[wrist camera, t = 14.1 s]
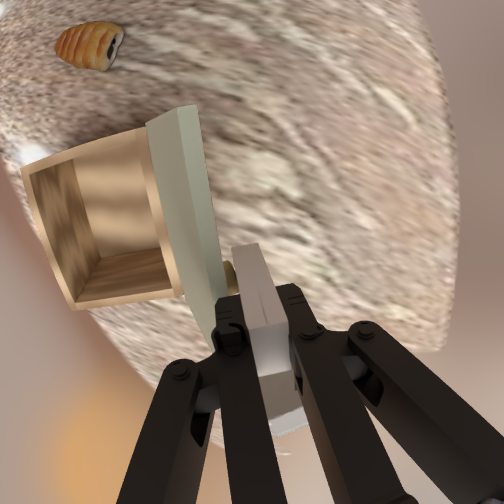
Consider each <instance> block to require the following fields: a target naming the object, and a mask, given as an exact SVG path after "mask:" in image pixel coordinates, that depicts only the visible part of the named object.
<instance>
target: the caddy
mask: <svg viewBox="0 0 504 504" xmlns="http://www.w3.org/2000/svg"><path fill="white" fill-rule="evenodd" d="M20 170H21V175H22V179H23V183H24V187H25V190H26V194H27V198H28V201H29V205H30V208H31V211H32V215H33V218H34V221H35V224H36V227H37V230H38V233H39V236H40V238H41V241H42V244H43V247H44V249H45V252H46V254H47V257H48V259H49V262H50V264H51V267H52V269H53V272H54V274H55V276H56V279H57V281H58V283H59V285H60V287H61V290H62V292H63V294H64V296H65V298H66V300H67V303H68V305H69V307H70V309H71V311H76V310H84V309H91V308H99V307H106V306H114V305H121V304H128V303H135V302H141V301H148V300H155V299H161V298H168V297H174V296H180V295H184V292H183V288H182V285H181V281H180V278H179V274H178V270H177V267H176V263H175V259H174V255H173V252H172V248H171V244H170V240H169V236H168V232H167V228H166V223H165V219H164V215H163V211H162V206H161V202H160V197H159V193H158V188H157V183H156V178H155V173H154V168H153V163H152V158H151V153H150V148H149V142H148V136H147V130H146V126H145V127H141V128H137V129H133V130H129V131H125V132H122V133H118V134H115V135H111V136H108V137H104V138H101V139H98V140H94V141H91V142H88V143H85V144H82V145H79V146H76V147H73V148H70V149H67V150H65V151H62V152H59V153H56V154H54V155H51V156H48V157H46V158H43V159H41V160H38V161H36V162H33V163H31V164H29V165H26V166H24V167H22V168H20Z"/></svg>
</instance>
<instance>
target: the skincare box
mask: <svg viewBox="0 0 504 504" xmlns="http://www.w3.org/2000/svg"><path fill="white" fill-rule="evenodd" d="M258 378H259V382H260V387H261V391H262V396H263V400H264V405H265V409H266V414H267V418H268V423H269V427H270V431H271V432H272V433H273V434H274V435H275V436H276V437H277V438H278V437H280V436H283V435H285V434H288V433H291V432H293V431H296V430H298V429H300V428H303V427H306V426H308V425H309V423H308V420H307V417H306V414H305V411H304V408H303V405H302V402H301V399H300V396H299V393H298V390H296V391H295V384H294V371H293V368H292V365H291V370H288V371H284V372H279V373H275V374H270V375H265V376H260V377H258Z"/></svg>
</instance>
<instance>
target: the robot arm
mask: <svg viewBox="0 0 504 504" xmlns="http://www.w3.org/2000/svg"><path fill="white" fill-rule="evenodd" d="M231 249H232V255H233V260H234V266H235V271H236V276H237V282H238V287H239V293H240V294H238V295H232V296H227V297H221V298H218V300H217V302H216V304H215V319H216V327H215V328H214V329H213V330H212V333H211V339H212V342H213V345H214V349H215V351H214V353H213V354H212V355H211V356H210V357H208V358H206V359H204V360H202V361H200V362H197V363H195V362H193V361H192V360H189V359H178V360H175V361H173V362H171V363H170V364H169V365H167V366H166V368H165V369H164V371H163V374H162V376H161V379H160V381H159V384H158V387H157V389H156V392H155V394H154V397H153V400H152V403H151V405H150V408H149V411H148V413H147V416H146V419H145V421H144V424H143V427H142V429H141V432H140V435H139V438H138V441H137V443H136V446H135V449H134V452H133V455H132V458H131V460H130V464H129V466H128V469H127V472H126V475H125V478H124V481H123V484H122V487H121V490H120V493H119V496H118V499H117V502H116V504H196V500H197V495H198V490H199V486H200V481H201V476H202V471H203V466H204V461H205V457H206V452H207V447H208V443H209V438H210V433H211V428H212V424H213V419H214V414H215V410H217V409H219V408H221V418H222V427H223V436H224V445H225V454H226V462H227V470H228V477H229V485H230V492H231V500H232V504H288V503H287V499H286V495H285V491H284V487H283V483H282V478H281V474H280V470H279V466H278V462H277V457H276V453H275V449H274V444H273V440H272V436H271V431H270V427H269V423H268V418H267V414H266V409H265V405H264V400H263V396H262V391H261V387H260V382H259V378H258V377H260V376H265V375H270V374H275V373H279V372H284V371H288V370H291V365H292V368H293V371H294V384H295V391H296V390H298V393H299V396H300V399H301V402H302V405H303V408H304V411H305V414H306V417H307V420H308V423H309V426H310V430H311V433H312V436H313V439H314V442H315V445H316V448H317V451H318V454H319V457H320V460H321V463H322V466H323V469H324V472H325V475H326V479H327V481H328V485H329V487H330V491H331V494H332V497H333V500H334V503H335V504H419V503H418V501H417V500H416V499H415V498H414V497H413V496H411V495H409V494H407V493H406V492H405V491H404V489H403V487H402V485H401V483H400V480H399V478H398V476H397V474H396V471H395V469H394V467H393V465H392V463H391V461H390V458H389V456H388V454H387V452H386V450H385V448H384V445H383V443H382V441H381V439H380V437H379V435H378V433H377V430H376V429H375V426H374V424H373V422H372V420H371V418H370V416H369V414H368V412H367V410H366V407H367V408H368V410H369V411H370V412H371V413H372V414H373V415H374V416H375V418H376V419H377V420H378V421H379V422H380V423H381V424H382V425H383V427H384V428H385V429H386V430H387V431H388V432H389V433H390V434H391V435H392V437H393V438H394V439H395V440H396V441H397V442H398V444H400V446H401V447H402V448H403V449H404V450H405V451H406V453H407V454H408V455H409V456H410V457H411V458H412V459H413V460H414V461H415V463H416V464H417V465H418V466H419V467H420V468H421V469H422V470H423V471H424V472H425V474H426V475H427V476H428V477H429V478H430V479H431V480H432V481H433V482H434V484H435V485H436V486H437V487H438V488H439V489H440V490H441V491H442V492H443V493H444V494H445V496H446V497H447V498H448V499H449V500H450V501H451V502H452V503H453V504H504V437H503V436H502V435H501V434H500V433H499V432H498V431H497V430H496V429H495V428H494V427H493V426H492V425H490V424H489V423H488V422H487V421H486V420H485V419H484V418H483V417H482V416H481V415H480V414H479V413H478V412H477V411H475V410H474V409H473V408H472V407H471V406H470V405H469V404H468V403H467V402H466V401H464V400H463V399H462V398H461V397H460V396H459V395H458V394H457V393H456V392H454V391H453V390H452V389H451V388H450V387H449V386H448V385H447V384H446V383H445V382H443V381H442V380H441V379H440V378H439V377H438V376H437V375H436V374H434V373H433V372H432V371H431V370H430V369H429V368H428V367H426V366H425V365H424V364H423V363H422V362H421V361H420V360H418V359H417V358H416V357H415V356H414V355H413V354H412V353H410V352H409V351H408V350H407V349H406V348H405V347H404V346H402V345H401V344H400V343H399V342H398V341H397V340H395V339H394V338H393V337H392V336H391V335H390V334H389V333H387V332H386V331H385V330H384V329H383V328H381V327H380V326H379V325H378V324H376V323H374V322H371V321H359V322H356V323H354V324H353V325H351V326H350V328H349V330H348V331H330V330H327V329H326V328H325V327H324V326H323V325H321V324H319V323H318V322H317V320H316V318H315V316H314V314H313V312H312V310H311V308H310V306H309V304H308V302H307V301H306V299H305V297H304V295H303V293H302V291H301V289H300V288H299V287H298V286H296V285H295V284H294V283H290V284H286V285H281V286H276V287H275V285H274V283H273V280H272V278H271V275H270V273H269V270H268V267H267V265H266V262H265V260H264V257H263V255H262V252H261V249H260V247H259V244H258V243H254V244H248V245H243V246H237V247H232V248H231ZM365 406H366V407H365Z"/></svg>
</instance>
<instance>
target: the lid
mask: <svg viewBox="0 0 504 504" xmlns="http://www.w3.org/2000/svg"><path fill="white" fill-rule="evenodd" d="M145 124H146V130H147V136H148V142H149V148H150V153H151V158H152V163H153V168H154V173H155V178H156V183H157V188H158V193H159V197H160V202H161V206H162V211H163V215H164V219H165V223H166V228H167V232H168V236H169V240H170V244H171V248H172V252H173V255H174V259H175V263H176V267H177V270H178V274H179V278H180V281H181V285H182V288H183V292H184V295H185V299H186V301H187V303H188V305H189V307H190V309H191V311H192V313H193V315H194V318H195V320H196V322H197V324H198V326H199V328H200V330H201V332H202V334H203V336H204V338H205V340H206V342H207V343H208V345H209V347H210V349H211V351H212V353H214V351H215V349H214V345H213V342H212V339H211V333H212V330H213V329H214V328H215V327H216V319H215V304H216V302H217V300H218V298H221V297H227V296H230V295H233V294H236V293H238V292H239V287H238V282H237V276H236V273H235V270H234V268H233V266H232V264H231V263H230V262H229V261H228V260H227V261H224V262H223V260H222V255H221V250H220V244H219V239H218V233H217V227H216V222H215V216H214V210H213V204H212V198H211V193H210V187H209V180H208V174H207V168H206V162H205V156H204V149H203V143H202V136H201V129H200V123H199V116H198V109H197V104H192V105H186V106H180V107H176V108H174V109H172V110H170V111H168V112H166V113H164V114H162V115H160V116H158V117H156V118H154V119H152V120H150V121H148V122H146V123H145Z"/></svg>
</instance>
